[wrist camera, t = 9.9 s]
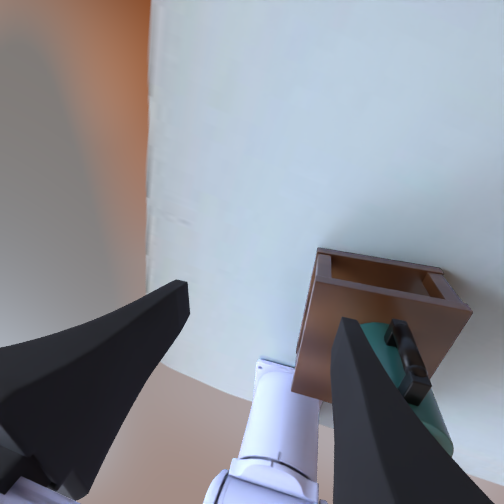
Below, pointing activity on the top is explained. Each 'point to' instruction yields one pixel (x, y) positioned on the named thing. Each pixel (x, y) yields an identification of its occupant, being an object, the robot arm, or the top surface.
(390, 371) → the kettle
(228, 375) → the top surface
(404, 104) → the top surface
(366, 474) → the robot arm
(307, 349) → the stand
